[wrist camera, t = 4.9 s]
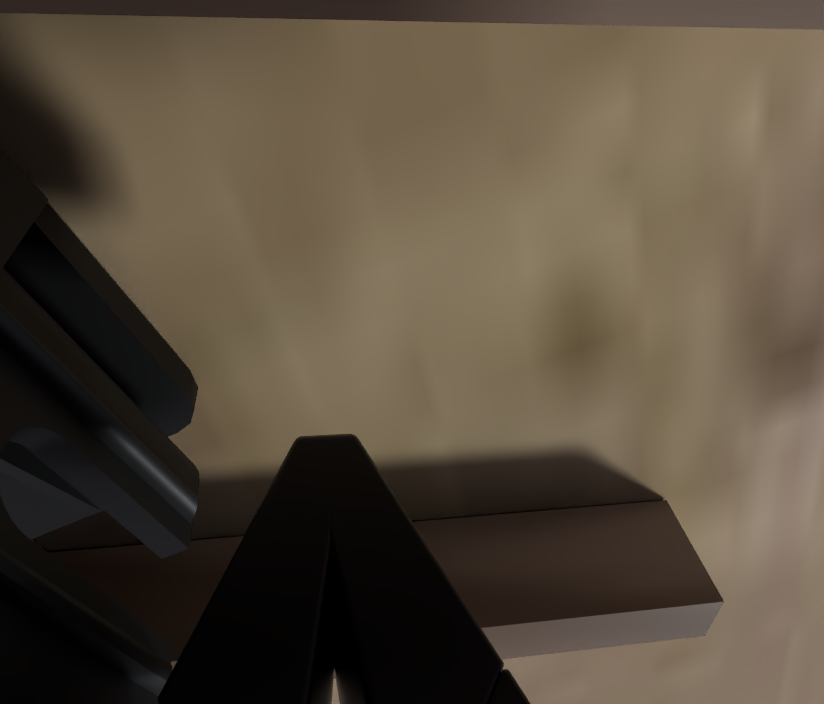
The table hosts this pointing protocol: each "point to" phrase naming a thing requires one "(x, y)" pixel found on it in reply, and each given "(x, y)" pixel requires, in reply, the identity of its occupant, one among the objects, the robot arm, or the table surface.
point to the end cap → (80, 459)
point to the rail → (493, 534)
